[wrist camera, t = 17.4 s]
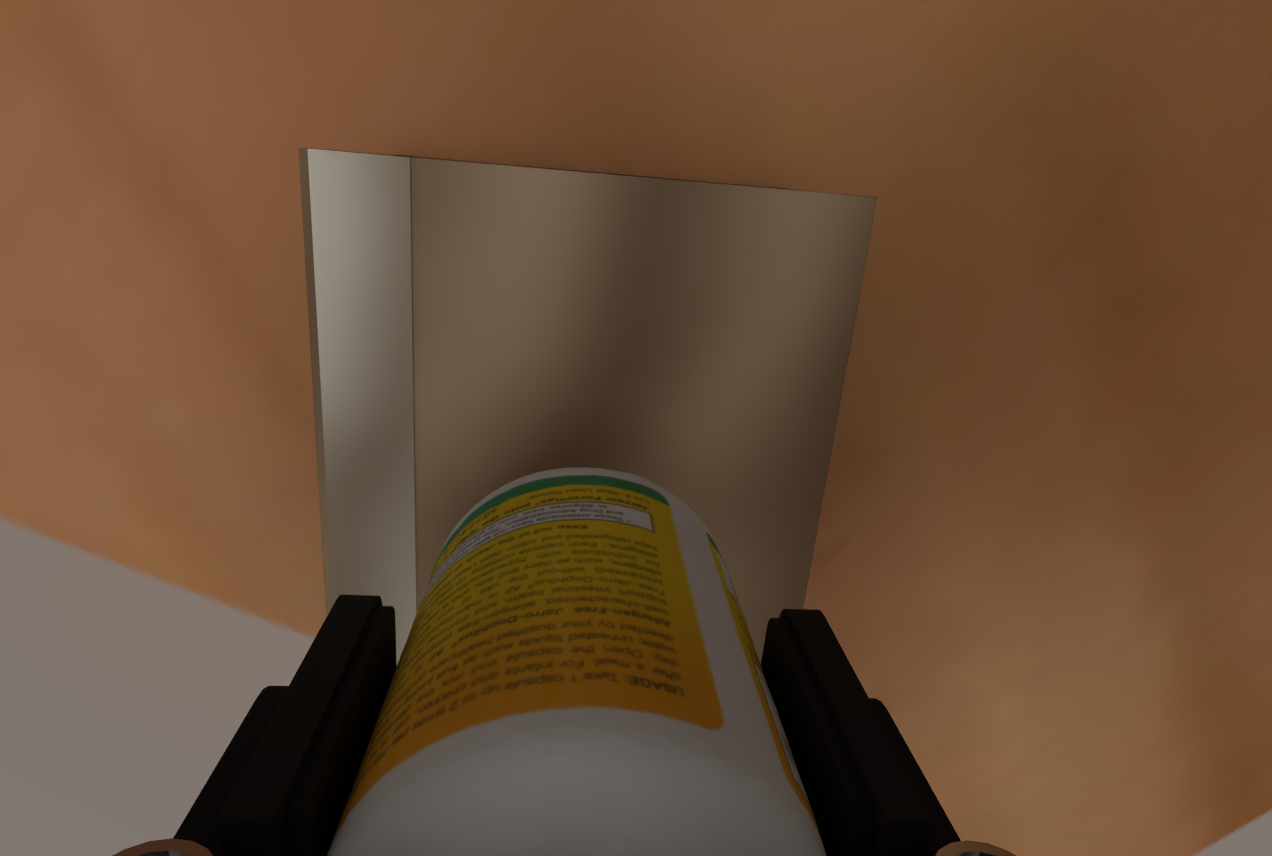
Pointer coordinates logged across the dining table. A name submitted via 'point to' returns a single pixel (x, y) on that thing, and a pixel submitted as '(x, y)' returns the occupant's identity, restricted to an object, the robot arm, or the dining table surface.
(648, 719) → the supplement bottle
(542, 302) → the lid
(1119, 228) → the dining table surface
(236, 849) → the robot arm
